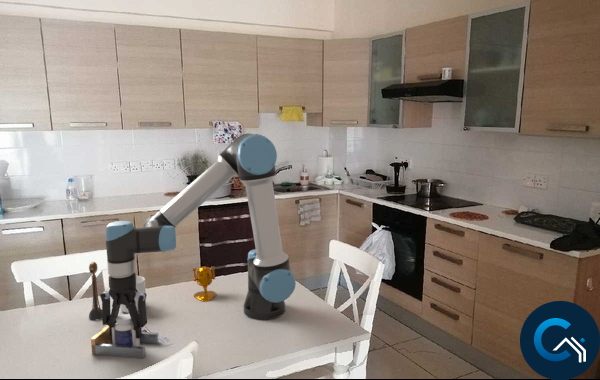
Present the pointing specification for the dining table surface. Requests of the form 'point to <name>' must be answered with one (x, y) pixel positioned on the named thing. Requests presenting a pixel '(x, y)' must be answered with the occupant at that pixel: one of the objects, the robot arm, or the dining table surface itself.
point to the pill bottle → (124, 330)
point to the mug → (141, 289)
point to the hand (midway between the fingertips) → (126, 346)
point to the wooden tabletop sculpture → (94, 295)
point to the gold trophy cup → (204, 283)
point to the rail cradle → (104, 348)
